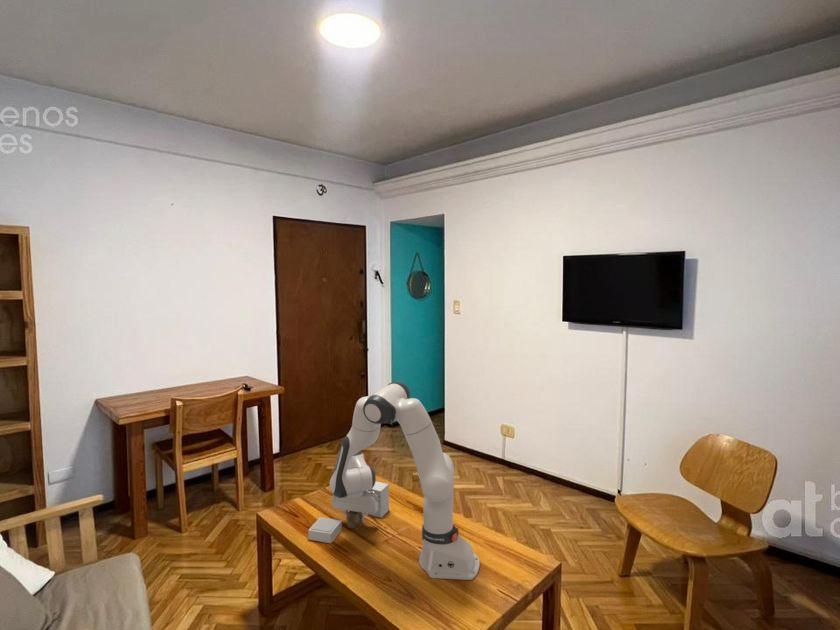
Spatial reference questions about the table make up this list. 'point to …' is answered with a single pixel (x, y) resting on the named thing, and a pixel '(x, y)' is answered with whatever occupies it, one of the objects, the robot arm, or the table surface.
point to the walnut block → (354, 519)
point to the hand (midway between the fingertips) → (355, 520)
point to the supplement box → (381, 498)
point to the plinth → (325, 530)
